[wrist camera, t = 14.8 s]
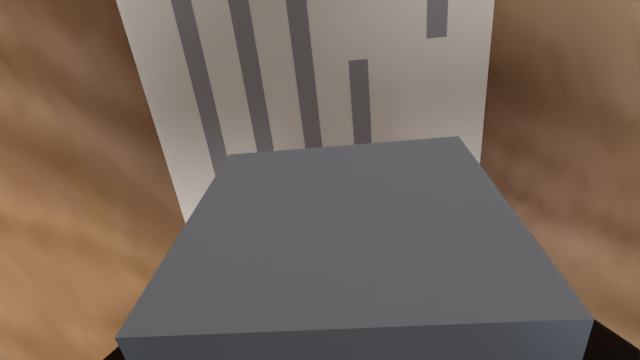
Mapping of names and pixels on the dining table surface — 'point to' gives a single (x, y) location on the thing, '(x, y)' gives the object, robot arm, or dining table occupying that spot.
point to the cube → (356, 265)
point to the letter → (305, 76)
